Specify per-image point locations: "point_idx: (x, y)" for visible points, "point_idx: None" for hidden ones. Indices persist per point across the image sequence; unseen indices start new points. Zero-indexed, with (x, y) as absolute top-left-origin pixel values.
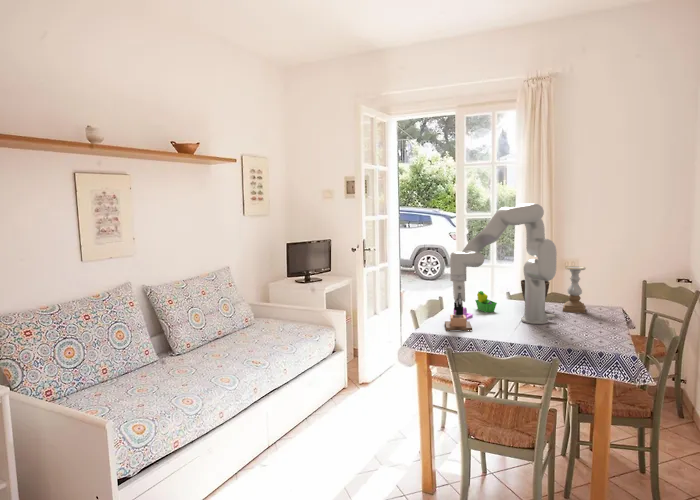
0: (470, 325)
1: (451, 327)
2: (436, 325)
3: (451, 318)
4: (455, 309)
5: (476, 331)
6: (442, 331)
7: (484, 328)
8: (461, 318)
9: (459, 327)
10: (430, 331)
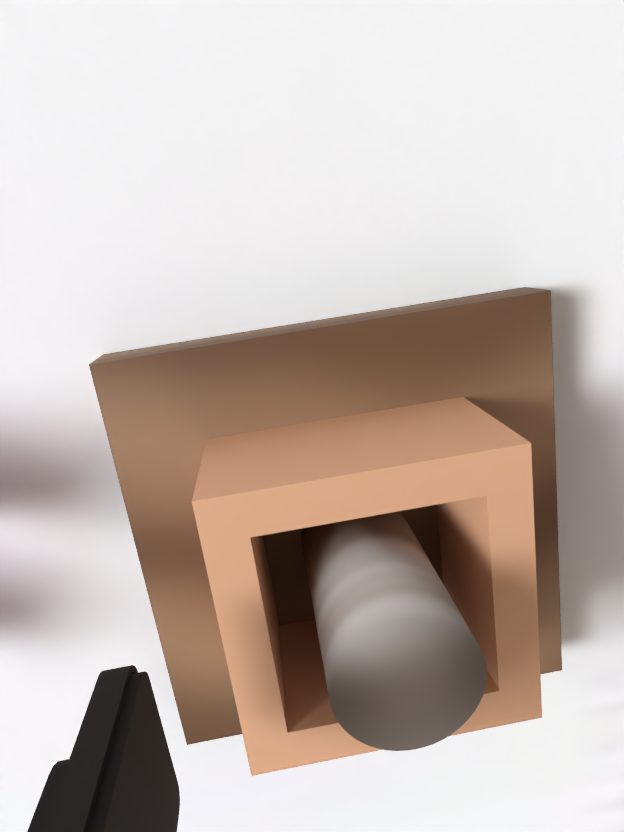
0: (386, 329)
1: (543, 610)
2: (284, 790)
3: (523, 713)
4: (174, 790)
5: (536, 216)
6: (571, 681)
7: (323, 62)
8: (530, 541)
9: (533, 500)
10: (580, 801)
